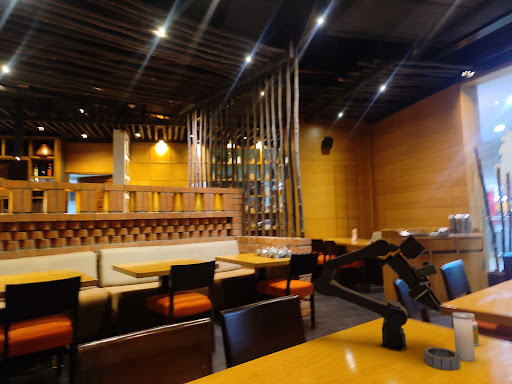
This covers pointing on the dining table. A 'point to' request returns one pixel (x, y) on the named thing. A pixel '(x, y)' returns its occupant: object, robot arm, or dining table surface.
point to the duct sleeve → (463, 336)
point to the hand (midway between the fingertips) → (439, 307)
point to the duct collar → (442, 358)
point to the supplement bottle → (475, 331)
